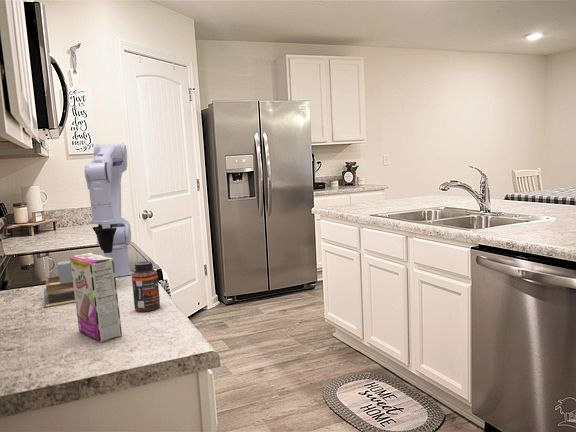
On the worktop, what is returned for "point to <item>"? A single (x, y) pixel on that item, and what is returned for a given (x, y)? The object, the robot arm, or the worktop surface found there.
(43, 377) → the worktop surface
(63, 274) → the block
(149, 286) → the supplement bottle
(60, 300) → the plate
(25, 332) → the worktop surface
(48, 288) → the shallow wooden tray
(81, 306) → the candy bar box
